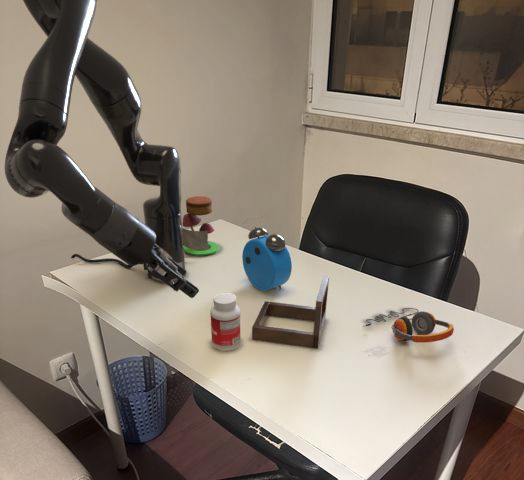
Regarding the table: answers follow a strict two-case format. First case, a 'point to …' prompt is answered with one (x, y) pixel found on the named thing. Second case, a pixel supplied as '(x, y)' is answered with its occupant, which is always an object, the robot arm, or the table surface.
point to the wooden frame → (293, 312)
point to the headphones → (417, 327)
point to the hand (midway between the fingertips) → (189, 284)
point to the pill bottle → (225, 322)
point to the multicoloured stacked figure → (198, 240)
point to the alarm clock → (266, 260)
